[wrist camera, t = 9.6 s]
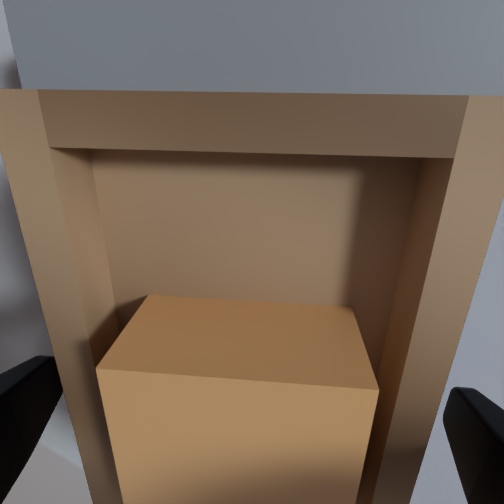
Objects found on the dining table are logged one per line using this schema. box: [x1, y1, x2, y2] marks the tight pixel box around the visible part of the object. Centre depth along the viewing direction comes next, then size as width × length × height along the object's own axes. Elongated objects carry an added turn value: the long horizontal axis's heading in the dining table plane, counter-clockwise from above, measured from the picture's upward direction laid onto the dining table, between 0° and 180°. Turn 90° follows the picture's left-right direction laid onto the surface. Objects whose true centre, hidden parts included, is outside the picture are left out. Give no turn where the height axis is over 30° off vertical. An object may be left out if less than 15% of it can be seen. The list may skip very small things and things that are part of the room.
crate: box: [96, 295, 379, 504], centre depth 6 cm, size 5×4×2 cm
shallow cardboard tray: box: [0, 89, 504, 504], centre depth 9 cm, size 12×7×4 cm, turn 179°
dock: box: [3, 0, 504, 96], centre depth 12 cm, size 16×12×3 cm
